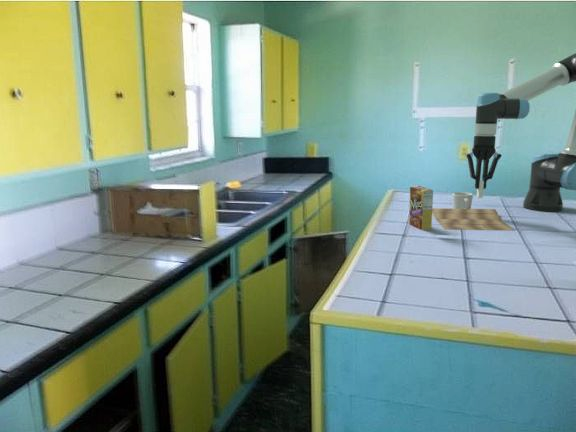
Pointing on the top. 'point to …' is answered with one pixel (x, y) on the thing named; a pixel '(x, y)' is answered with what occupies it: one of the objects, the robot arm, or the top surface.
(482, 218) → the plank
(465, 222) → the laid panel
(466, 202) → the cup
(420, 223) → the candy box
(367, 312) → the top surface
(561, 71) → the robot arm
